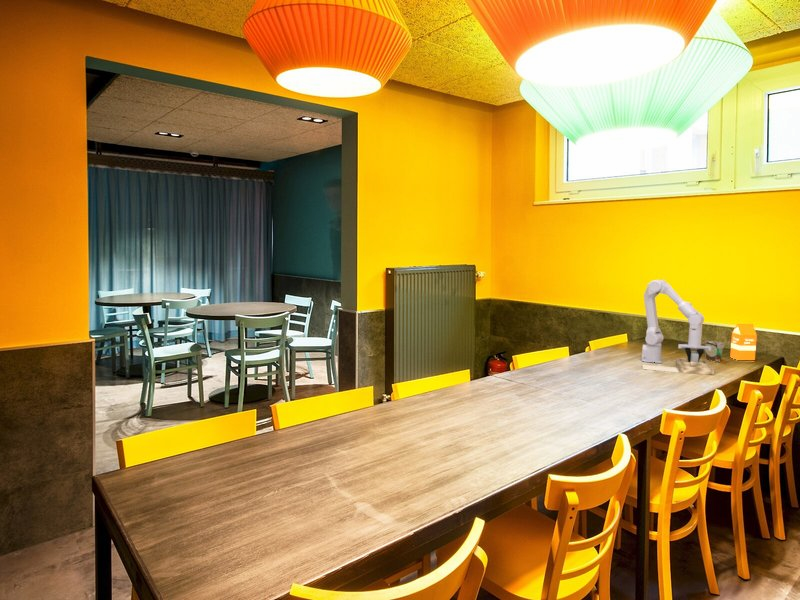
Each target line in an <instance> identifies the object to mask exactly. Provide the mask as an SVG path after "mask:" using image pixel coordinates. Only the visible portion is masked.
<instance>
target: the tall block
mask: <svg viewBox="0 0 800 600" xmlns="http://www.w3.org/2000/svg"><path fill="white" fill-rule="evenodd" d="M698 357H699V354H698V353H697V350H691V356H690V362H698Z"/></svg>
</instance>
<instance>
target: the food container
mask: <svg viewBox="0 0 800 600" xmlns="http://www.w3.org/2000/svg"><path fill="white" fill-rule="evenodd" d="M704 344H705V346H711V351H708V350H704V352H705V358H707V359H710V360H712V361H715V362H718V363H720V362H719V361H721V360H722V355H723V350H724V348H725V344H724V342H720V341H715V340H714V341H713V340H705V342H704ZM707 359H706V360H707ZM710 360H709V361H710ZM712 361H711V362H712ZM715 362H714V363H715Z"/></svg>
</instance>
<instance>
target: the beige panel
mask: <svg viewBox="0 0 800 600" xmlns="http://www.w3.org/2000/svg"><path fill="white" fill-rule="evenodd" d="M641 365H642V370H643V369H647V370H646V371H653V370H656V372H664V371H665V372H666V373H675V372H676V373H678V374H679V372H680V370H679V369H678V367H672V366H663V365H662V366H661V365H651V364H641ZM665 372H664V373H665Z"/></svg>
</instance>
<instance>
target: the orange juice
mask: <svg viewBox="0 0 800 600" xmlns="http://www.w3.org/2000/svg"><path fill="white" fill-rule="evenodd" d="M754 326H755V325H754V323H737V324H736V326H735V327H734V329H733V330H732V332H731V342H730V356H729V357H731V358H733V359H732V360H734V359H736V360H735V361H737V360H755V359H756V351H757V332H756V330H755V329H756V328H755V327H754ZM731 358H730V359H731Z"/></svg>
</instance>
